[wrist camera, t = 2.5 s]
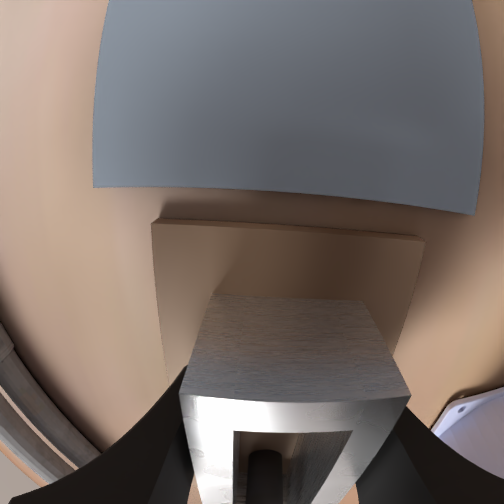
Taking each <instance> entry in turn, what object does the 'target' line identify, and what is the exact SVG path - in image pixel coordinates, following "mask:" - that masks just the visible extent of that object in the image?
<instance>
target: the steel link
mask: <svg viewBox="0 0 504 504" xmlns="http://www.w3.org/2000/svg"><path fill="white" fill-rule="evenodd" d="M410 397H411V393H410V391H409V389H408V387H407V385H406V383H405V381H404V379H403V377H402V375H401V372H400V370H399V368H398V366H397V364H396V362H395V361H394V359H393V357H392V355H391V353H390V351H389V349H388V347H387V345H386V343H385V341H384V339H383V337H382V335H381V334H380V332H379V330H378V328H377V326H376V324H375V322H374V321H373V319H372V317H371V315H370V313H369V312H368V310H367V308H366V306H365V304H364V303H363V301H352V300H322V299H298V298H279V297H261V296H246V295H231V294H218V293H212V295H211V298H210V301H209V304H208V307H207V309H206V312H205V315H204V318H203V321H202V324H201V327H200V330H199V333H198V336H197V339H196V342H195V345H194V348H193V351H192V354H191V357H190V360H189V363H188V366H187V369H186V372H185V375H184V378H183V381H182V385H181V388H180V391H179V398H180V404H181V410H182V416H183V421H184V426H185V431H186V436H187V441H188V446H189V451H190V455H191V460H192V464H193V469H194V473H195V477H196V481H197V485H198V489H199V493H200V497H201V500H202V504H245V503H246V488H247V474H248V473H239V449H240V431H252V432H276V433H299V435H298V438H297V441H296V445H295V448H294V451H293V454H292V457H291V460H290V463H289V466H288V469H287V472H286V474H283V504H338V503H339V502H340V501H341V500H342V499H343V497H344V496H345V495H346V494H347V492H348V491H349V490H350V489H351V487H352V486H353V485H354V484H355V482H356V481H357V480H358V478H359V477H360V476H361V475H362V473H363V472H364V470H365V469H366V468H367V466H368V465H369V464H370V462H371V461H372V459H373V458H374V456H375V455H376V454H377V452H378V451H379V449H380V448H381V446H382V445H383V443H384V441H385V440H386V438H387V437H388V435H389V434H390V432H391V430H392V429H393V427H394V425H395V424H396V422H397V420H398V419H399V417H400V415H401V414H402V412H403V410H404V408H405V406H406V405H407V403H408V401H409V399H410Z"/></svg>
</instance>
